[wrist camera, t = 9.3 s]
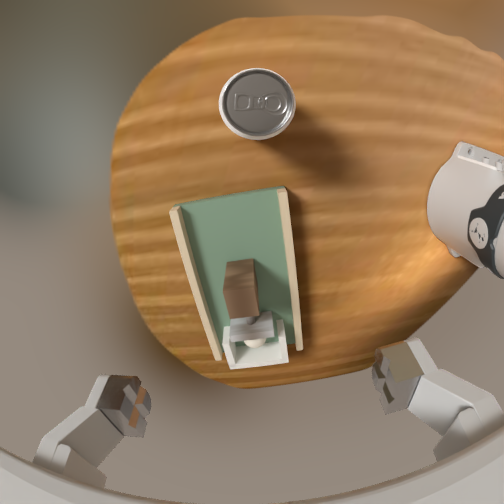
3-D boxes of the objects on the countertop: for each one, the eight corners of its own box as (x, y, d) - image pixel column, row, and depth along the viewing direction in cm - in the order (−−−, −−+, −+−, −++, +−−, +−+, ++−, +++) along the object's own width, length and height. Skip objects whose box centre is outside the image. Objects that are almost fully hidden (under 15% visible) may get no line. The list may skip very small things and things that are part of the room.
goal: (282, 319, 43) (285, 336, 39) (286, 344, 45) (288, 362, 41) (224, 326, 43) (222, 344, 40) (231, 351, 46) (230, 369, 42)
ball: (267, 346, 39) (268, 346, 43) (264, 322, 41) (265, 324, 44) (242, 349, 40) (245, 349, 43) (239, 325, 41) (243, 327, 44)
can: (280, 136, 32) (296, 144, 22) (226, 134, 32) (215, 140, 22) (283, 85, 30) (301, 67, 19) (228, 82, 30) (217, 63, 19)
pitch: (283, 185, 35) (286, 191, 32) (300, 337, 46) (303, 349, 43) (174, 204, 36) (169, 211, 33) (217, 347, 47) (215, 360, 44)
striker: (262, 256, 38) (265, 285, 32) (272, 316, 42) (275, 349, 36) (217, 263, 38) (211, 293, 32) (232, 322, 43) (230, 355, 36)
